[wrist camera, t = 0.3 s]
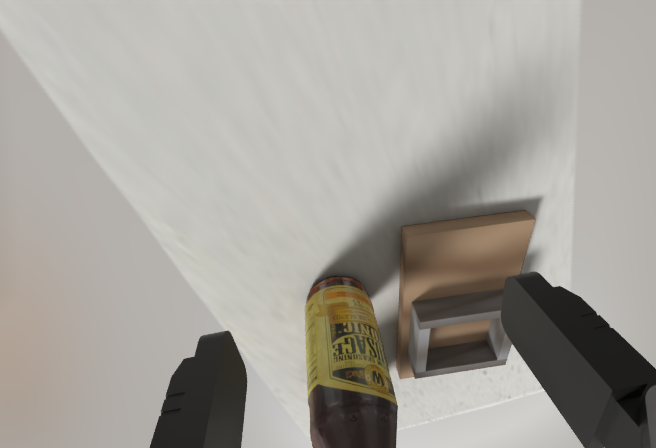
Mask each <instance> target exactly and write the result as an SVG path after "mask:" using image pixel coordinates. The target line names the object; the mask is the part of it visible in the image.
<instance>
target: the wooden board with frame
mask: <svg viewBox="0 0 656 448" xmlns="http://www.w3.org/2000/svg"><path fill="white" fill-rule="evenodd" d="M535 220H536V219H535V218H534V217H533V216H532V215H531V214H529V213H528V212H527V211H526V210H522V211H515V212H507V213H500V214H492V215H485V216H477V217H470V218H462V219H455V220H448V221H440V222H433V223H425V224H418V225H410V226H403V227H402V239H401V264H400V288H399V313H398V338H397V362H396V368H397V371H398V375H399V378H400V379H404V378H410V377H415V379H416V378H423V377H429V376H436V375H442V374H449V373H455V372H461V371H468V370H474V369H481V368H487V367H493V366H500V365H505V364H506V361H507V357H508V354H509V351H510V348H511V345H512V342H511V341H510V339H509V338H508V337H507V335H506V333H505V331H504V329H503V326H502V322H501V308H502V300H503V292H504V284H505V280H506V278H507V277H510V276H515V275H520V272H521V269H522V265H523V262H524V258H525V255H526V251H527V248H528V244H529V241H530V238H531V234H532V231H533V227H534V224H535Z"/></svg>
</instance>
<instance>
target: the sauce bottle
mask: <svg viewBox="0 0 656 448" xmlns="http://www.w3.org/2000/svg"><path fill="white" fill-rule="evenodd" d="M305 331H306V363H307V387H308V404H309V407H310V434H311V441H312V446H313V448H396V432H397V409H398V406H397V402H396V397H395V393H394V389H393V385H392V382H391V378H390V374H389V369H388V365H387V361H386V357H385V353H384V349H383V345H382V341H381V338H380V334H379V330H378V326H377V322H376V318H375V314H374V309H373V305H372V302H371V300H370V298H369V295H368V293H367V291H366V290H365V288H364V287H363V286H362V285H361V283H360V282H358V281H356V280H355V279H351V278H347V277H329V278H327V279H324V280H323V281H322V282H320V283H318V284H317V285H315V286H314V287H313V288H312V289H311V290H310V292H309V294H308V296H307V302H306V306H305Z"/></svg>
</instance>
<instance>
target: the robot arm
mask: <svg viewBox="0 0 656 448" xmlns="http://www.w3.org/2000/svg"><path fill="white" fill-rule="evenodd" d="M501 322H502V326H503V329H504V331H505V333H506V335H507V337H508V338H509V339H510V341H511V342H512V344H513V345H514V347H515V348H516V350H517V351H518V352H519V354H520V355H521V357H522V358H523V360H524V361H525V362H526V364H527V365H528V367H529V368H530V370H531V371H532V373H533V374H534V375H535V377H536V378H537V380H538V381H539V383H540V384H541V386H542V387H543V388H544V390H545V391H546V392H547V394H548V396H549V397H550V398H551V400H552V401H553V403H554V404H555V406H556V407H557V408H558V410H559V411H560V413H561V414H562V416H563V417H564V419H565V420H566V422H567V423H568V424H569V426H570V427H571V429H572V430H573V432H574V433H575V435H576V436H577V437H578V439H579V440H580V442H581V443H582V444H583V446H584V447H585V448H604V447H605V448H656V369H655V368H654V367H653V366H652V365H651V364H650V363H649V362H648V361H647V360H646V359H645V358H644V357H643V356H642V355H641V354H640V353H638V352H637V351H636V350H635V349H634V348H633V347H632V346H631V345H630V344H629V343H628V342H627V341H626V340H625V339H624V338H623V337H621V335H619V333H617V332H616V331H615V330H614V329H613V328H610V326H609V324H608V323H607V322H606V321H605V320H604V319H603V318H602V317H601V316H600V315H599V316H598V315H597V314H596V312H595V311H594V310H593V309H592V308H591V307H590V306H589V305H588V304H587V303H586V302H585V301H584V300H583V299H582V298H581V297H579V296H577V295H575V294H573V293H572V292H570V291H568V290H566V289H564V288H563V287H561V286H558V287H552V286H551V285H550V284H549V283H548V282H547V281H546V280H545V279H544V278H543V277H542V276H541V275H540V274H539V273H537V272H530V273H525V274H520V275H515V276H510V277H507V278H506V280H505V284H504V292H503V300H502V308H501ZM246 391H247V374H246V369H245V365H244V362H243V360H242V358H241V356H240V353H239V351H238V348H237V346H236V344H235V342H234V339H233V337H232V335H231V333H230V332H229V331H224V332H219V333H214V334H208V335H203V336H201V337H200V339H199V341H198V345H197V349H196V353H195V357H191V358H186V359H184V360H183V361H182V363H181V364H180V366H179V367H178V369H177V370H176V371H175V373H174V374H173V375H172V377H171V380H170V384H169V387H168V390H167V393H166V400H164V403H163V407H162V410H161V416H159V419H158V422H157V426H156V429H155V432H154V435H153V439H152V442H151V445H150V448H241V442H242V432H243V422H244V412H245V401H246Z"/></svg>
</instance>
